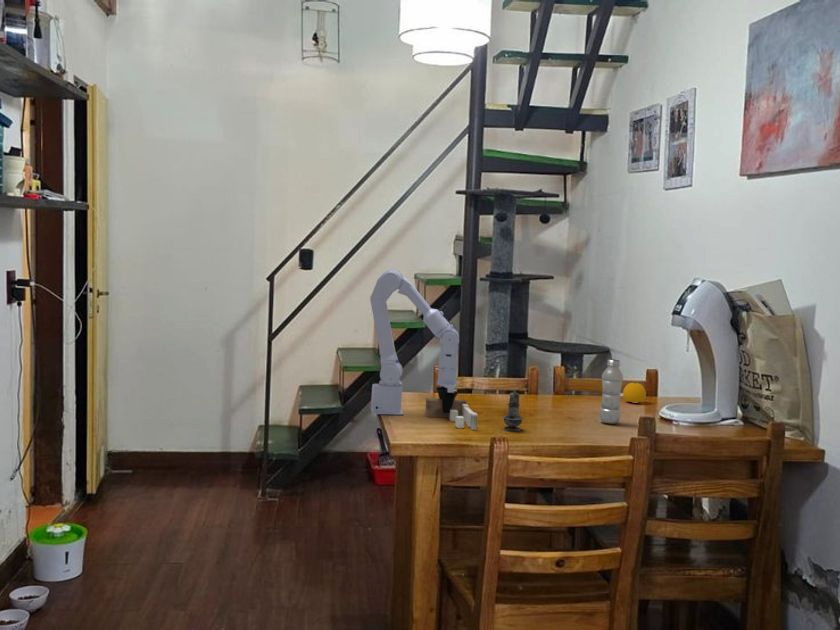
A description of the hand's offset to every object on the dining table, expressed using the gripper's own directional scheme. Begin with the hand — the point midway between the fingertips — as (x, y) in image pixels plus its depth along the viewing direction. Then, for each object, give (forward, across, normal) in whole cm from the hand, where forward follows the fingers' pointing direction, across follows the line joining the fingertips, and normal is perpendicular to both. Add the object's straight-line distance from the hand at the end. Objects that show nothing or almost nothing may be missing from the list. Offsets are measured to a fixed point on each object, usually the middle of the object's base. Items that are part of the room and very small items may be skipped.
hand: (445, 411), depth 251 cm
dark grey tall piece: (+2, -16, -17) cm, 24 cm away
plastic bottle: (+2, -6, -51) cm, 51 cm away
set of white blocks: (+1, -11, -3) cm, 11 cm away
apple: (+2, +30, -74) cm, 80 cm away
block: (+1, 0, 0) cm, 1 cm away
